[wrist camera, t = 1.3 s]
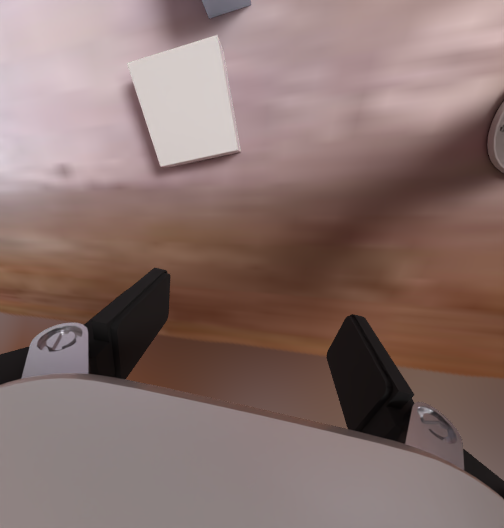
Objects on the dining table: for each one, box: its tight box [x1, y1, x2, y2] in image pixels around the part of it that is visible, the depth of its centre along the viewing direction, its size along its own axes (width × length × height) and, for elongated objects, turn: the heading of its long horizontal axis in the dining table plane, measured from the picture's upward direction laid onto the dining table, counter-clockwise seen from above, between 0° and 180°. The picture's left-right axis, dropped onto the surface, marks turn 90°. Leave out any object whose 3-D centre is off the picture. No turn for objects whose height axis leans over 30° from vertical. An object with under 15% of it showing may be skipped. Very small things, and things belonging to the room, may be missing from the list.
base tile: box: [127, 35, 241, 167], centre depth 26 cm, size 11×11×3 cm
